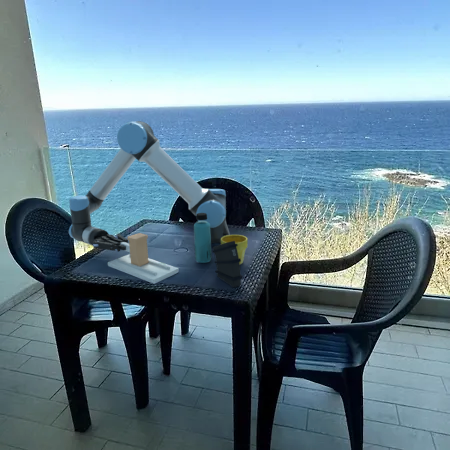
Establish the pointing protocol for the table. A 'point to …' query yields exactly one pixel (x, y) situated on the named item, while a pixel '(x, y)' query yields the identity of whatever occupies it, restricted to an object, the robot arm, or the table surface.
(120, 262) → the switch panel
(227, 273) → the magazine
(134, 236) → the switch tab
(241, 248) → the plant pot
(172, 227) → the table surface
